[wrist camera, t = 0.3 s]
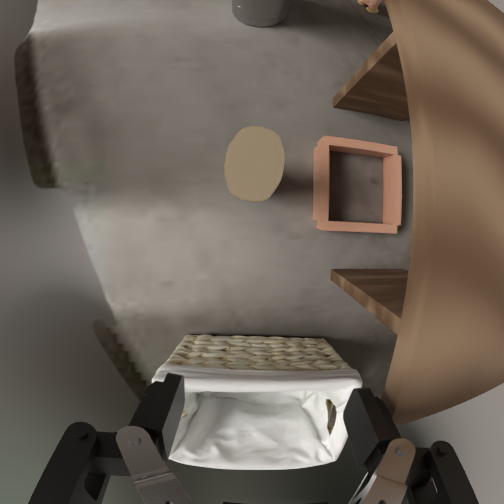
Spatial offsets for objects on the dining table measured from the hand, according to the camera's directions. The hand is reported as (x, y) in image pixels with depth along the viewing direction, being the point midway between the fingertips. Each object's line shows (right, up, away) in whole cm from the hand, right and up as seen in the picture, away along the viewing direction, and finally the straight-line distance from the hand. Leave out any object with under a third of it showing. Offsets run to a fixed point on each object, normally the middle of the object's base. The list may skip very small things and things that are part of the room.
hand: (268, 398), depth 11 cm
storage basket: (-1, -12, +30) cm, 32 cm away
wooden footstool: (+14, +16, +26) cm, 33 cm away
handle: (-1, +16, +26) cm, 30 cm away
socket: (+14, +16, +26) cm, 33 cm away
